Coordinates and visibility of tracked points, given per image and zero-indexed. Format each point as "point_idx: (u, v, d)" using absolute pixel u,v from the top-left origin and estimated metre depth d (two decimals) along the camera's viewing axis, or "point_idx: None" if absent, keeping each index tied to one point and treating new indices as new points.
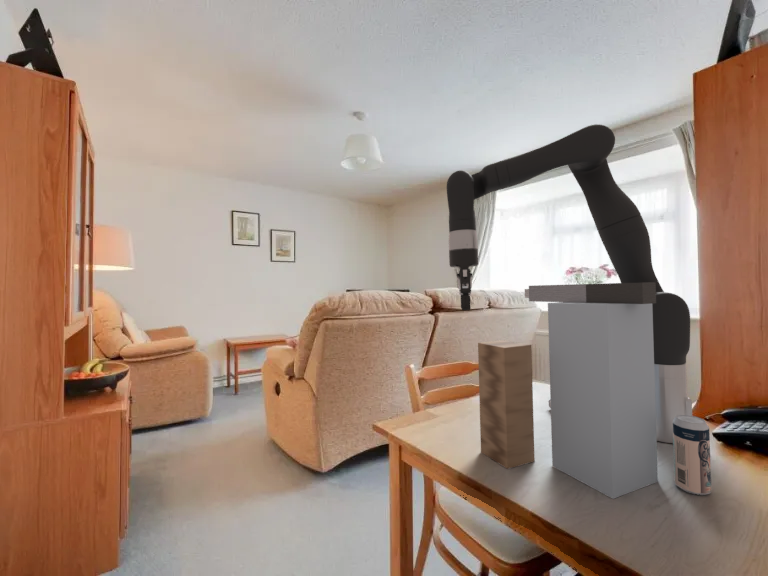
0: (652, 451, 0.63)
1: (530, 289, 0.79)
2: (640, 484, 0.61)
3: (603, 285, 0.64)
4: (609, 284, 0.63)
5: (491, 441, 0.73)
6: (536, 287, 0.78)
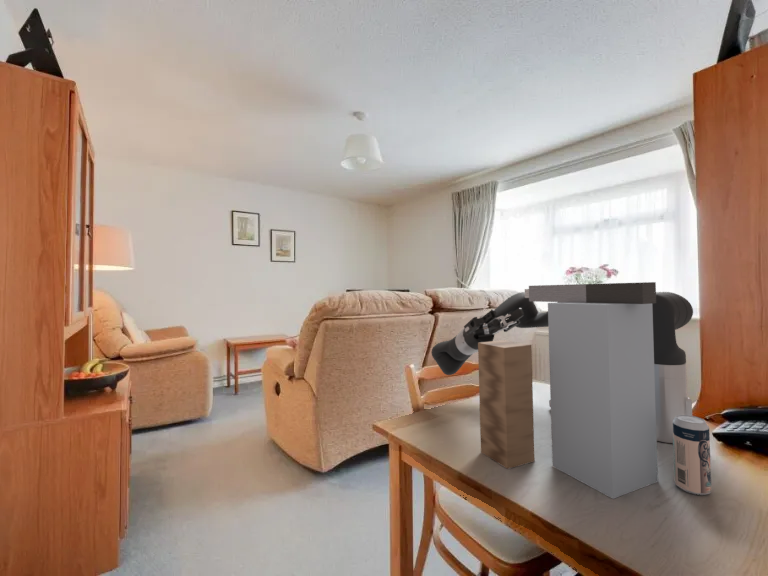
0: (652, 451, 0.63)
1: (530, 289, 0.79)
2: (640, 484, 0.61)
3: (603, 285, 0.64)
4: (609, 284, 0.63)
5: (491, 441, 0.73)
6: (536, 287, 0.78)
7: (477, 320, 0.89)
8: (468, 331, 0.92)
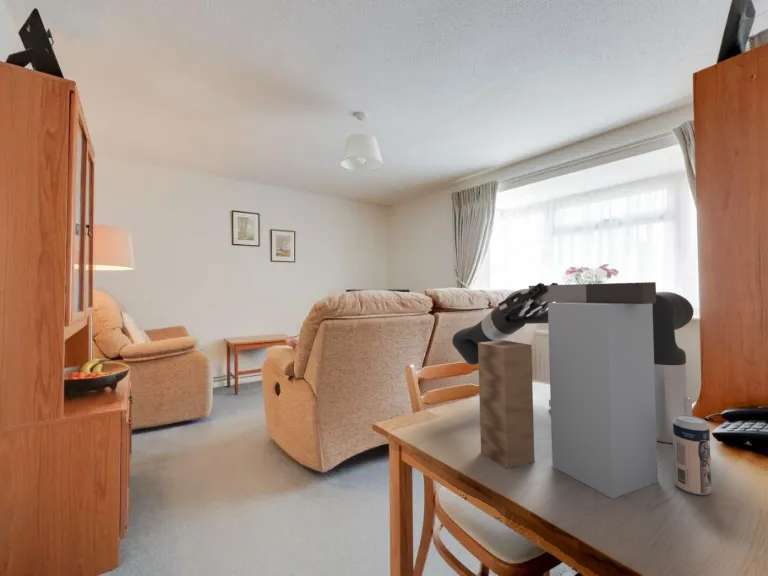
0: (652, 451, 0.63)
1: (530, 289, 0.79)
2: (640, 484, 0.61)
3: (603, 285, 0.64)
4: (609, 284, 0.63)
5: (491, 441, 0.73)
6: None
7: (521, 296, 0.78)
8: (506, 308, 0.80)
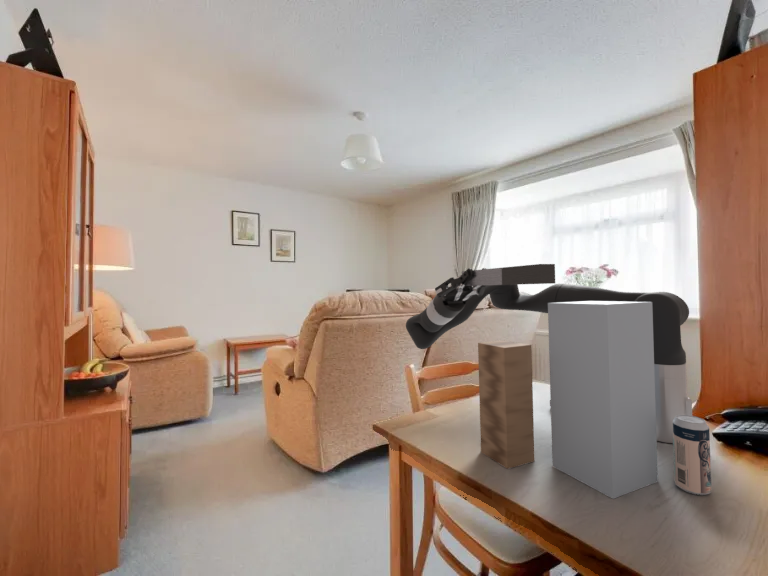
0: (652, 451, 0.63)
1: None
2: (640, 484, 0.61)
3: (513, 268, 0.69)
4: (517, 267, 0.68)
5: (491, 441, 0.73)
6: None
7: (453, 280, 0.84)
8: (441, 293, 0.86)
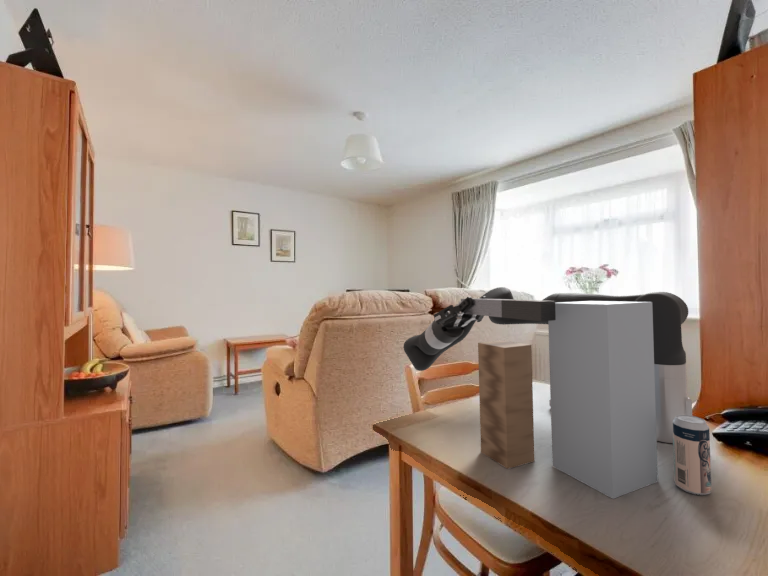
0: (652, 451, 0.63)
1: None
2: (640, 484, 0.61)
3: (513, 302, 0.69)
4: (517, 301, 0.68)
5: (491, 441, 0.73)
6: None
7: (453, 308, 0.83)
8: (439, 320, 0.85)
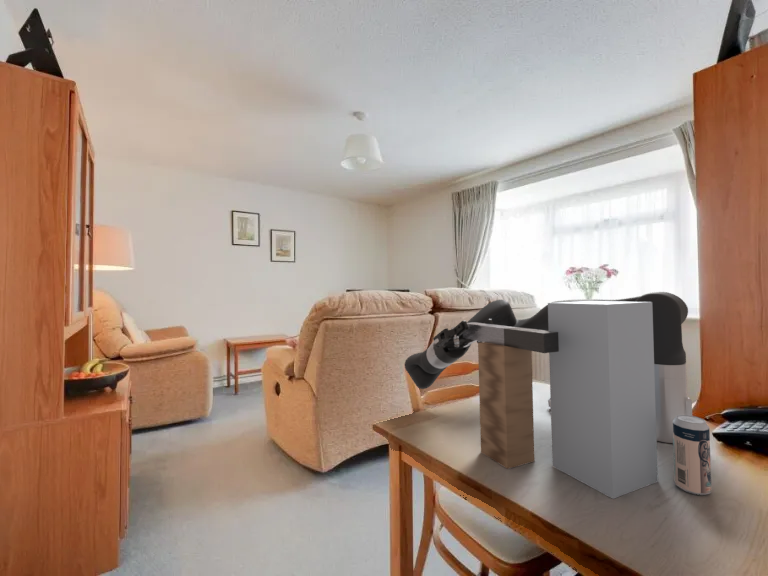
0: (652, 451, 0.63)
1: None
2: (640, 484, 0.61)
3: (516, 331, 0.68)
4: (520, 331, 0.67)
5: (491, 441, 0.73)
6: (468, 325, 0.82)
7: (447, 332, 0.83)
8: (437, 343, 0.85)
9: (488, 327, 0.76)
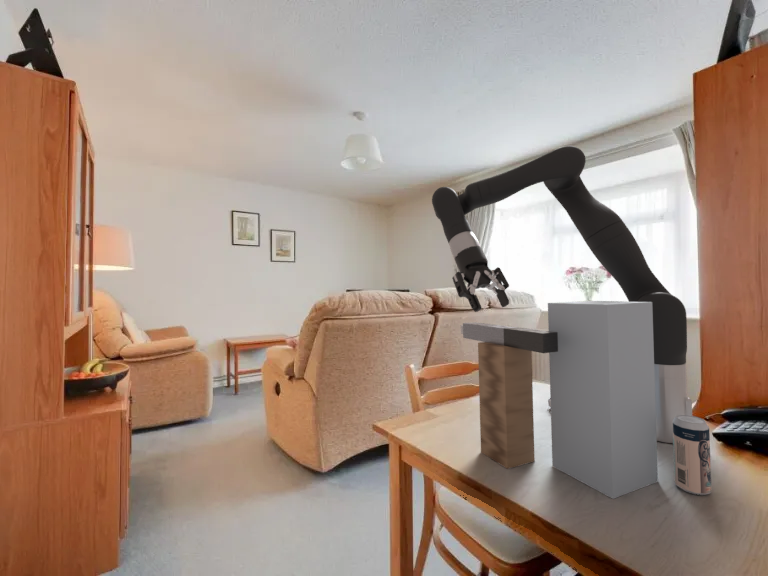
0: (652, 451, 0.63)
1: (464, 326, 0.84)
2: (640, 484, 0.61)
3: (515, 331, 0.68)
4: (520, 331, 0.67)
5: (491, 441, 0.73)
6: (468, 325, 0.83)
7: (464, 294, 0.86)
8: (454, 281, 0.88)
9: (488, 327, 0.76)
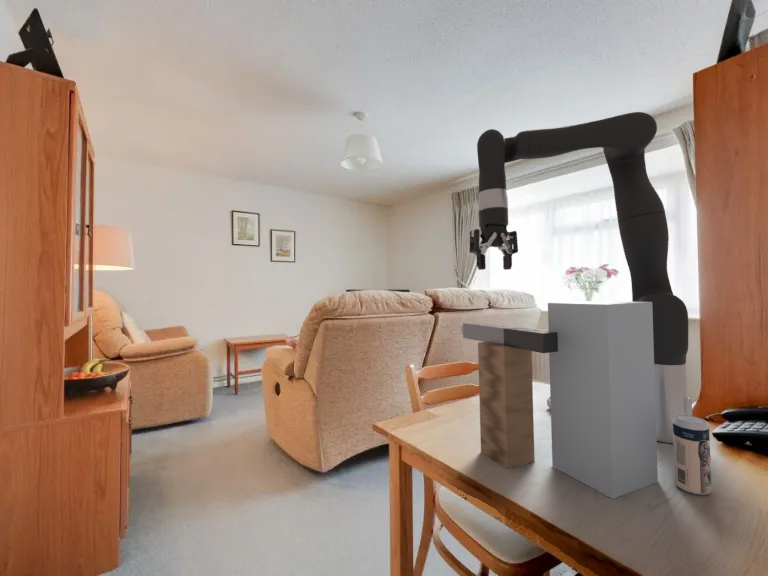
0: (652, 451, 0.63)
1: (464, 326, 0.84)
2: (640, 484, 0.61)
3: (515, 331, 0.68)
4: (520, 331, 0.67)
5: (491, 441, 0.73)
6: (468, 325, 0.83)
7: (474, 252, 0.92)
8: (470, 236, 0.93)
9: (488, 327, 0.76)
